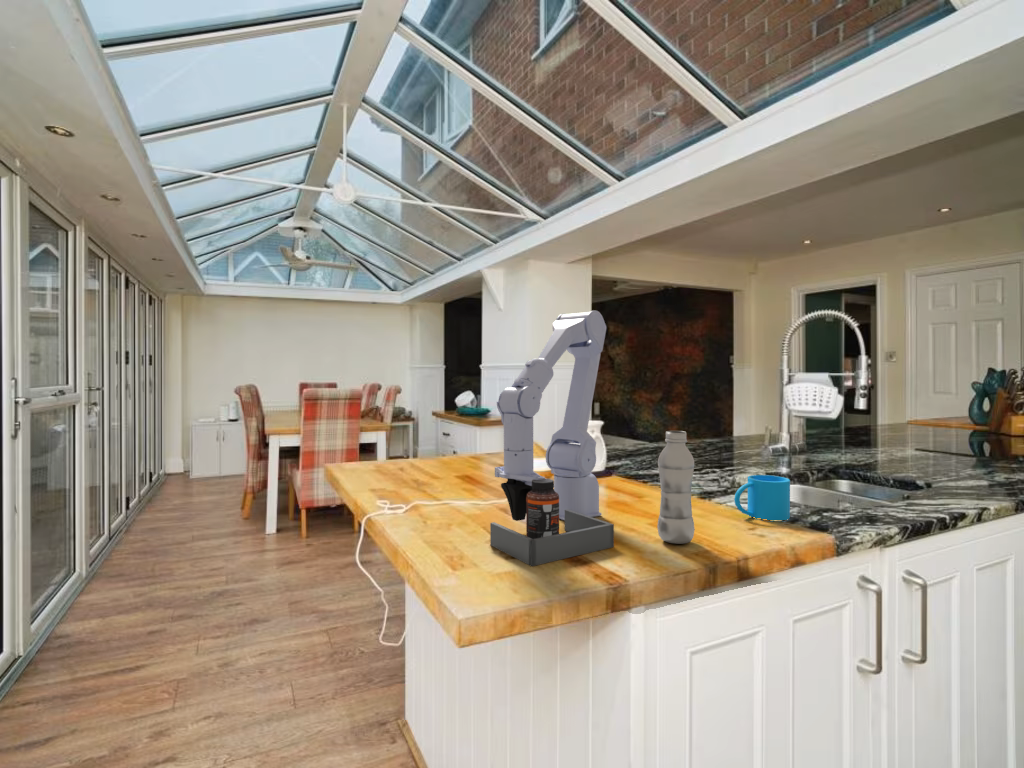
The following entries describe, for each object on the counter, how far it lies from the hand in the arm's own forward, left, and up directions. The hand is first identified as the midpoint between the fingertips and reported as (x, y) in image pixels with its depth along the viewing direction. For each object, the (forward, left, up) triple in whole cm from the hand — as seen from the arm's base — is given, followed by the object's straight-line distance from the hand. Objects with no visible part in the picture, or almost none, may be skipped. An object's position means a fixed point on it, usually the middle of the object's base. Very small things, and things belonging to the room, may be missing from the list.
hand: (518, 519), depth 105 cm
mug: (-49, +19, -3) cm, 53 cm away
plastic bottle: (-20, +21, -3) cm, 29 cm away
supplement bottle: (0, +8, -3) cm, 8 cm away
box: (0, +10, -2) cm, 10 cm away
